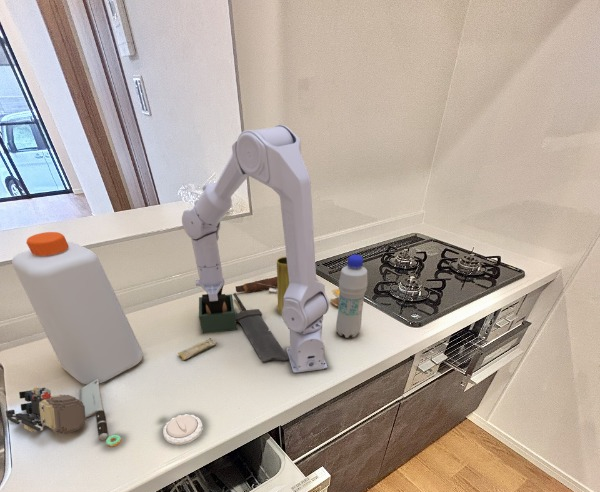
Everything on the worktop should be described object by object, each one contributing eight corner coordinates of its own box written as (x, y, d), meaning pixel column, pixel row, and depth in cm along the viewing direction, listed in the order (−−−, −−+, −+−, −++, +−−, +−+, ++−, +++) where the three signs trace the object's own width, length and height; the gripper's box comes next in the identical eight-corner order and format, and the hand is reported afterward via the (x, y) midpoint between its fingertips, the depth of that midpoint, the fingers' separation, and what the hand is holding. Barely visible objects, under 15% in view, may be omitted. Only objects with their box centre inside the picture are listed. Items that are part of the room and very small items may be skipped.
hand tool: (312, 278, 115) (312, 267, 113) (316, 280, 113) (316, 269, 111) (235, 293, 108) (233, 281, 106) (237, 296, 105) (235, 284, 103)
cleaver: (75, 388, 73) (96, 376, 73) (81, 392, 74) (101, 380, 74) (81, 448, 63) (105, 434, 63) (86, 451, 64) (110, 437, 64)
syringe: (284, 295, 107) (285, 294, 108) (285, 289, 106) (286, 287, 107) (252, 289, 106) (253, 287, 108) (253, 282, 105) (254, 281, 107)
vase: (298, 315, 97) (298, 265, 87) (276, 315, 97) (273, 265, 87) (299, 305, 102) (298, 255, 92) (278, 305, 102) (275, 255, 92)
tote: (237, 329, 92) (234, 312, 89) (202, 333, 91) (198, 316, 87) (234, 310, 99) (231, 294, 96) (202, 313, 98) (199, 297, 95)
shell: (345, 317, 99) (357, 307, 100) (344, 306, 96) (357, 296, 96) (327, 302, 103) (339, 293, 104) (326, 291, 99) (338, 282, 100)
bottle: (359, 341, 88) (370, 262, 74) (333, 338, 89) (339, 260, 75) (361, 327, 92) (372, 250, 79) (336, 325, 93) (342, 248, 80)
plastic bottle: (117, 337, 89) (67, 218, 70) (151, 359, 82) (106, 234, 63) (57, 365, 81) (-19, 239, 62) (89, 392, 74) (14, 260, 54)
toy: (-4, 386, 65) (37, 403, 58) (44, 380, 71) (86, 395, 64) (1, 422, 66) (41, 443, 59) (47, 413, 73) (88, 431, 66)
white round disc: (196, 411, 70) (194, 404, 68) (208, 435, 65) (206, 428, 64) (159, 424, 67) (156, 417, 66) (169, 450, 63) (166, 443, 61)
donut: (167, 430, 67) (166, 427, 67) (108, 449, 63) (106, 445, 62) (164, 422, 69) (163, 419, 68) (106, 440, 65) (104, 436, 64)
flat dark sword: (262, 369, 80) (261, 363, 79) (223, 299, 103) (221, 293, 102) (291, 361, 82) (291, 354, 81) (246, 294, 105) (245, 288, 104)
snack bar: (183, 359, 81) (176, 351, 82) (184, 363, 82) (177, 355, 83) (218, 342, 86) (211, 334, 87) (217, 346, 87) (210, 338, 88)
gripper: (192, 253, 89) (202, 302, 98) (191, 277, 78) (202, 329, 88) (220, 251, 90) (227, 299, 99) (222, 274, 79) (230, 326, 89)
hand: (217, 313), depth 93 cm, fingers closed on egg, 5 cm apart
